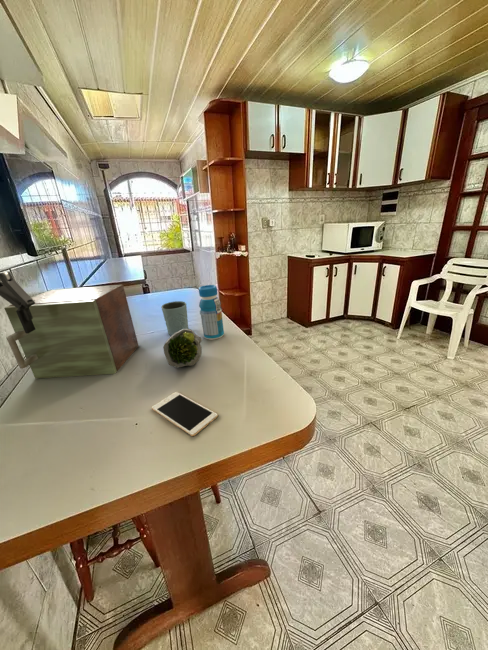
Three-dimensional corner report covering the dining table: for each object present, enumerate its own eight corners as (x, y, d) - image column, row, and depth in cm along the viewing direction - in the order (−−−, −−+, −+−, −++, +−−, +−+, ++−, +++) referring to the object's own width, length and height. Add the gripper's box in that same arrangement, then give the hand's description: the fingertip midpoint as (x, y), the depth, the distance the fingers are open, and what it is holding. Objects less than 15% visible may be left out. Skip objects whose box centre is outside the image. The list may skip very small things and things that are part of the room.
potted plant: (205, 340, 95) (217, 345, 81) (183, 370, 92) (191, 381, 78) (177, 320, 91) (184, 322, 77) (154, 351, 88) (157, 359, 75)
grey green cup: (177, 325, 120) (173, 300, 116) (195, 328, 115) (191, 301, 111) (161, 334, 112) (155, 307, 107) (180, 337, 107) (174, 309, 103)
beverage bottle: (207, 342, 101) (199, 291, 94) (201, 334, 109) (193, 286, 101) (227, 337, 104) (222, 287, 97) (220, 329, 111) (214, 283, 104)
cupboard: (117, 371, 86) (95, 298, 77) (39, 376, 88) (8, 305, 78) (138, 346, 103) (123, 284, 94) (72, 350, 104) (50, 289, 95)
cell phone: (176, 393, 72) (176, 391, 72) (218, 416, 63) (218, 414, 62) (151, 409, 67) (150, 407, 67) (192, 437, 57) (192, 434, 57)
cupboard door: (105, 384, 79) (80, 307, 70) (21, 389, 81) (-15, 314, 71) (117, 371, 86) (95, 299, 77) (38, 376, 87) (8, 306, 78)
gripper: (31, 249, 69) (59, 324, 77) (-60, 257, 70) (-23, 331, 78) (6, 252, 62) (40, 335, 70) (-94, 261, 63) (-50, 342, 71)
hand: (7, 333), depth 74 cm, fingers open, 13 cm apart
